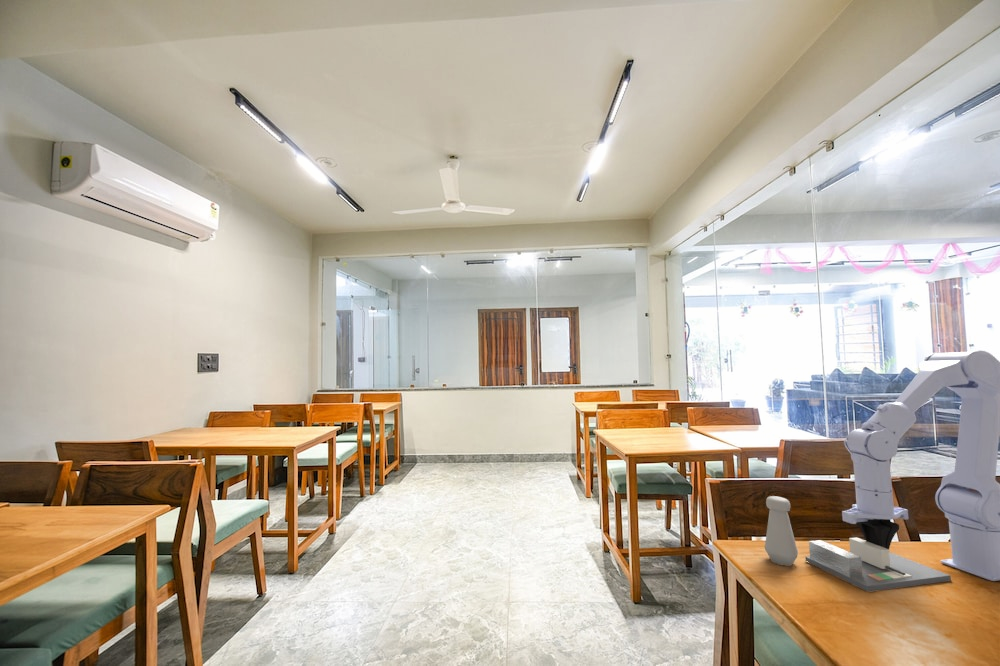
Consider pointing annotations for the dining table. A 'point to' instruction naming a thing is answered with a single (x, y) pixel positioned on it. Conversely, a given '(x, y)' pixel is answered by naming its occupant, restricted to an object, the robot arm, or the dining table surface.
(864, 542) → the white rectangular bar
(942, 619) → the dining table surface
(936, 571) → the base
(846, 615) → the dining table surface
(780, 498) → the salt shaker
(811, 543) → the grey block
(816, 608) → the dining table surface
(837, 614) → the dining table surface
